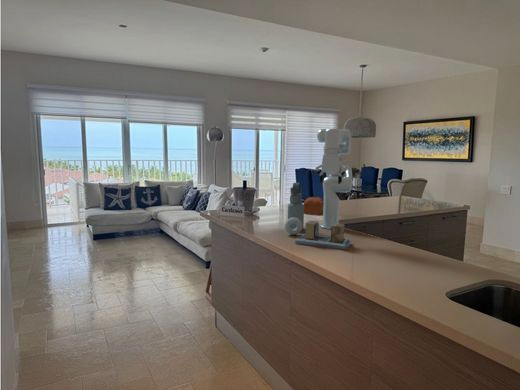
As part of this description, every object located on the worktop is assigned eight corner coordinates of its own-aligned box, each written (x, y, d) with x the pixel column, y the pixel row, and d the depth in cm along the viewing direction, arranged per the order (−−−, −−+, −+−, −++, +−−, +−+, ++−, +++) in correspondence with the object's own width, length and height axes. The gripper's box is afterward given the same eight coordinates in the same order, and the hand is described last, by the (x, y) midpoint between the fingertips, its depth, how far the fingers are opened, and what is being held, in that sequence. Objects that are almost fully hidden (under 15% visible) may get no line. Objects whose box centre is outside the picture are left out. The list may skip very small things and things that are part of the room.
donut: (284, 235, 196) (285, 218, 194) (284, 234, 199) (284, 216, 198) (302, 235, 196) (303, 218, 195) (301, 234, 199) (302, 217, 198)
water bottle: (302, 231, 207) (303, 184, 203) (286, 230, 209) (287, 183, 205) (304, 227, 217) (305, 182, 213) (288, 226, 219) (289, 182, 215)
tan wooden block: (330, 243, 174) (330, 225, 173) (334, 239, 181) (334, 222, 180) (340, 244, 172) (341, 226, 170) (343, 241, 179) (344, 223, 178)
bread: (301, 214, 263) (301, 200, 262) (305, 208, 289) (305, 196, 288) (322, 215, 260) (322, 201, 259) (324, 209, 286) (324, 196, 284)
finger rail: (302, 238, 190) (303, 219, 189) (351, 243, 180) (352, 223, 178) (295, 243, 179) (295, 223, 178) (346, 249, 168) (347, 228, 167)
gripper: (349, 151, 190) (347, 183, 193) (317, 151, 197) (317, 181, 200) (346, 152, 184) (345, 184, 186) (314, 151, 191) (313, 183, 193)
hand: (330, 183), depth 193 cm, fingers open, 9 cm apart
